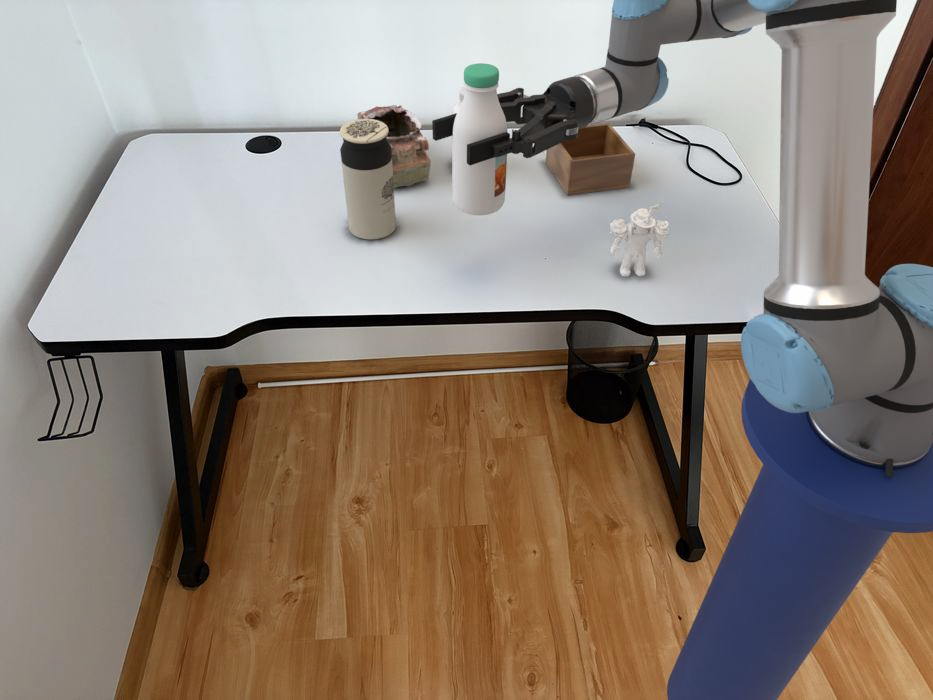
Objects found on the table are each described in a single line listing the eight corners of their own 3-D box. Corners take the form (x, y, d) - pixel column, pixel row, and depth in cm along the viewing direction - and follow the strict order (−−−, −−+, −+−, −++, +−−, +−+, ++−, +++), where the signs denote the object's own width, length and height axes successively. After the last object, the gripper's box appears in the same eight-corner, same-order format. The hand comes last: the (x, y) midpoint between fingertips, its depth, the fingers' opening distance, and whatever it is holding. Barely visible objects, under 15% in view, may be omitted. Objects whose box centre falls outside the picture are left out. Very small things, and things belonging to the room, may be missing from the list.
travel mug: (339, 229, 128) (327, 131, 116) (371, 209, 133) (362, 112, 121) (374, 246, 125) (365, 146, 112) (405, 225, 129) (400, 127, 117)
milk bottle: (480, 223, 108) (484, 86, 94) (441, 203, 111) (439, 69, 98) (515, 202, 112) (523, 68, 98) (476, 183, 116) (479, 52, 102)
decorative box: (361, 198, 136) (356, 148, 129) (343, 146, 150) (338, 99, 143) (432, 188, 138) (431, 139, 132) (408, 138, 153) (406, 91, 146)
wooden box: (629, 187, 139) (635, 153, 135) (567, 195, 137) (571, 161, 132) (604, 155, 148) (609, 123, 143) (545, 162, 146) (548, 130, 141)
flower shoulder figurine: (658, 264, 122) (672, 199, 114) (662, 279, 119) (677, 214, 111) (602, 263, 122) (612, 198, 114) (604, 278, 119) (615, 212, 111)
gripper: (623, 153, 108) (494, 200, 98) (534, 101, 121) (411, 138, 111) (631, 102, 103) (496, 147, 93) (537, 54, 115) (409, 89, 106)
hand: (450, 142), depth 102 cm, fingers closed on milk bottle, 8 cm apart
